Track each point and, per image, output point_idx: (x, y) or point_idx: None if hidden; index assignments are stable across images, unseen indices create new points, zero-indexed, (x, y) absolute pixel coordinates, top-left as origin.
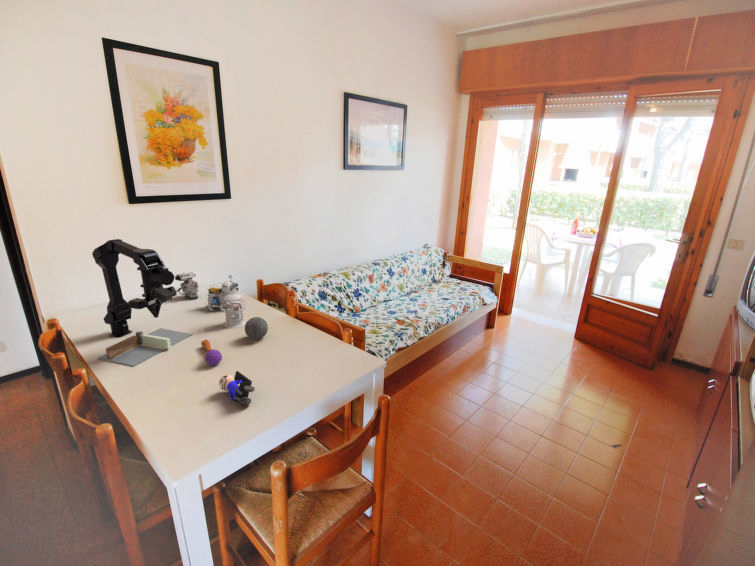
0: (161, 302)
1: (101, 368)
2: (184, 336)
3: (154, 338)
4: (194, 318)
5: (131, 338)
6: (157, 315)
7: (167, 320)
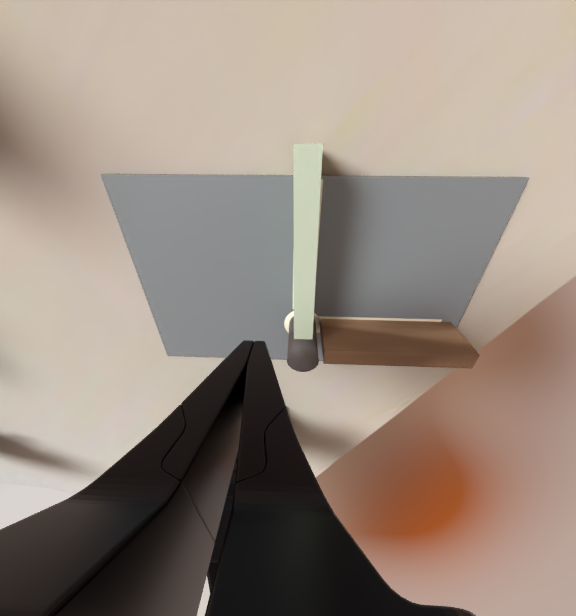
0: (29, 609)
1: (520, 300)
2: (150, 194)
3: (316, 258)
4: (8, 310)
5: (356, 351)
6: (248, 352)
7: (109, 378)
